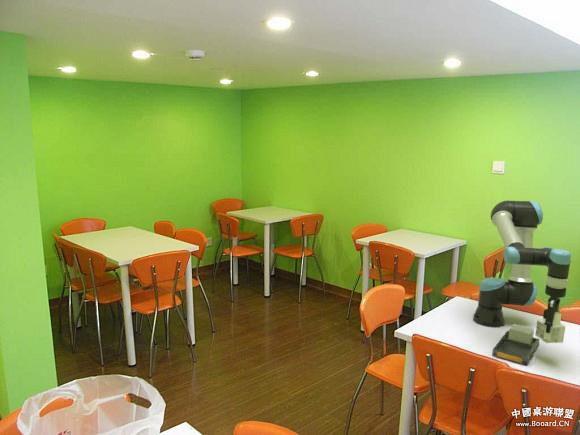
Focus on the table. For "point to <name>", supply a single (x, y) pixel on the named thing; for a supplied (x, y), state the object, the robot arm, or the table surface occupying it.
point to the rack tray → (515, 350)
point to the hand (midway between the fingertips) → (549, 334)
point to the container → (556, 331)
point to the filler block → (521, 334)
